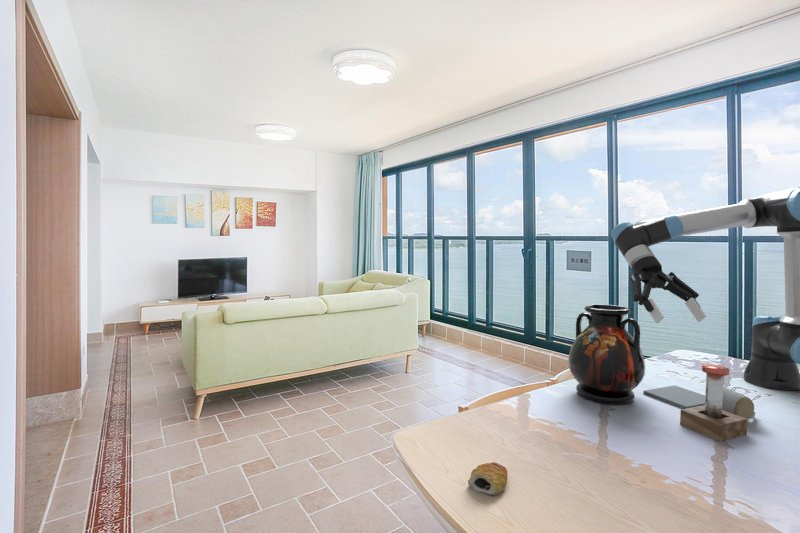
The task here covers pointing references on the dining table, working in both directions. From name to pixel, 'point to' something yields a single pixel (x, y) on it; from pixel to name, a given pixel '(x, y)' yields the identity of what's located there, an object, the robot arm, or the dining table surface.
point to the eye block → (713, 423)
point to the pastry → (488, 478)
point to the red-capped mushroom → (714, 389)
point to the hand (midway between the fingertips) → (681, 319)
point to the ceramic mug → (737, 404)
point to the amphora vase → (606, 355)
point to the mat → (677, 396)
